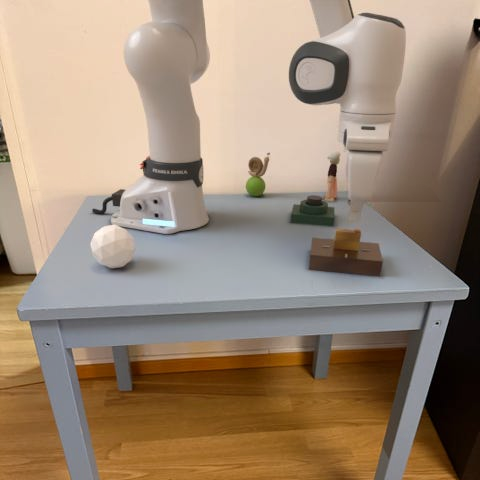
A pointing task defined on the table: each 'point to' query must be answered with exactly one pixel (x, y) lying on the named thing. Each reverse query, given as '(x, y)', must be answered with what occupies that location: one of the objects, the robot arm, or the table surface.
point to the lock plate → (345, 258)
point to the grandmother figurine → (332, 176)
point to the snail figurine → (256, 176)
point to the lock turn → (347, 239)
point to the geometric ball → (113, 246)
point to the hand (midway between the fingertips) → (353, 211)
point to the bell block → (313, 214)
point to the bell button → (314, 200)
